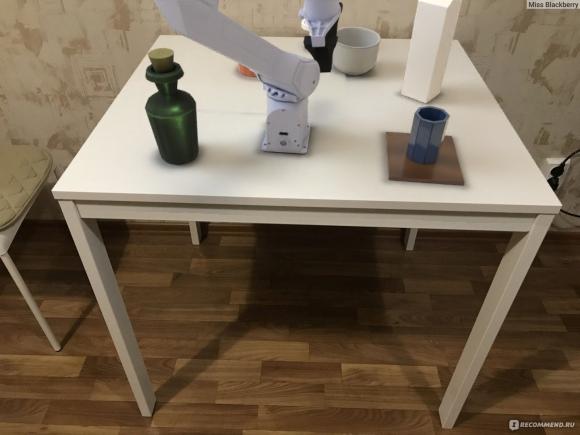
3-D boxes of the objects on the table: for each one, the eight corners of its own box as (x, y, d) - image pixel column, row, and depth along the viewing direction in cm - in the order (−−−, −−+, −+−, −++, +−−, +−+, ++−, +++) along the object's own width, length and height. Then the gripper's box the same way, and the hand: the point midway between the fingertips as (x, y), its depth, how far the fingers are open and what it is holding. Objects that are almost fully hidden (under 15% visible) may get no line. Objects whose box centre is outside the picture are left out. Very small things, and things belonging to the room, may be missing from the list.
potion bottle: (194, 170, 77) (177, 66, 64) (148, 165, 78) (123, 62, 65) (209, 143, 82) (195, 44, 70) (166, 139, 83) (145, 40, 71)
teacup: (375, 61, 109) (380, 27, 104) (377, 81, 101) (382, 45, 96) (317, 58, 110) (318, 24, 105) (314, 78, 102) (316, 43, 97)
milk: (426, 104, 94) (452, -12, 79) (400, 94, 97) (420, -19, 82) (440, 93, 97) (467, -20, 82) (415, 84, 100) (437, -26, 85)
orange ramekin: (275, 80, 101) (274, 63, 99) (235, 78, 102) (233, 60, 99) (280, 63, 108) (280, 46, 105) (242, 61, 109) (241, 44, 106)
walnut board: (463, 185, 74) (464, 182, 73) (388, 179, 75) (389, 176, 74) (451, 138, 84) (452, 135, 84) (385, 134, 85) (385, 131, 85)
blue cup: (415, 166, 77) (424, 124, 71) (402, 149, 80) (410, 108, 75) (443, 161, 78) (454, 120, 72) (429, 145, 81) (439, 104, 76)
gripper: (301, -36, 78) (311, 36, 88) (287, 11, 69) (300, 84, 80) (342, -40, 76) (347, 33, 87) (334, 8, 68) (340, 83, 79)
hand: (327, 58), depth 83 cm, fingers open, 7 cm apart
